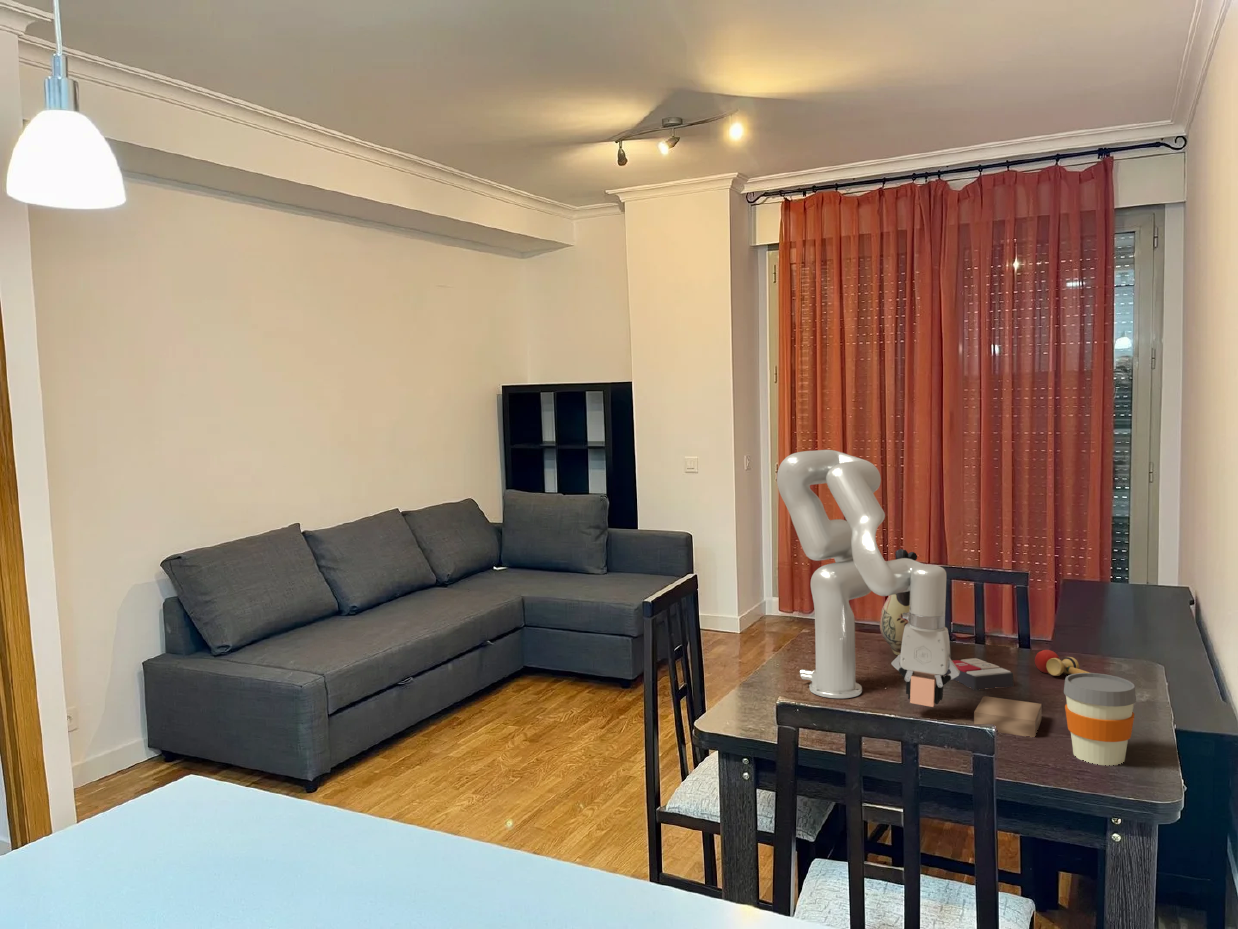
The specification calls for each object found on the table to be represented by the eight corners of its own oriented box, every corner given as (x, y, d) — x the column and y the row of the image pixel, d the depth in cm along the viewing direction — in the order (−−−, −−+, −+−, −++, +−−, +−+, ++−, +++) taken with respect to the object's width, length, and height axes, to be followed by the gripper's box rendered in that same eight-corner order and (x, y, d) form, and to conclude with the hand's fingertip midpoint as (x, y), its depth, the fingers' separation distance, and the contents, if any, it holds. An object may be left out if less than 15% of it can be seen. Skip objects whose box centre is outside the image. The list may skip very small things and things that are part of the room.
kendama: (1112, 690, 219) (1047, 662, 235) (1112, 667, 218) (1047, 641, 233) (1091, 701, 216) (1027, 672, 232) (1092, 677, 214) (1027, 650, 230)
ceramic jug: (887, 643, 261) (887, 542, 259) (942, 650, 253) (942, 545, 251) (871, 658, 246) (871, 551, 244) (929, 665, 238) (929, 554, 236)
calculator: (976, 656, 234) (1014, 670, 220) (977, 673, 234) (1014, 687, 220) (939, 660, 232) (974, 674, 217) (939, 676, 232) (975, 691, 217)
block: (910, 702, 199) (910, 676, 199) (915, 696, 204) (916, 670, 203) (933, 707, 197) (934, 680, 196) (937, 700, 201) (938, 674, 200)
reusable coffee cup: (1071, 740, 185) (1072, 669, 184) (1140, 753, 177) (1141, 679, 176) (1056, 759, 175) (1056, 684, 174) (1128, 775, 167) (1129, 696, 166)
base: (974, 730, 193) (974, 712, 192) (983, 713, 203) (983, 696, 203) (1035, 739, 186) (1035, 721, 186) (1041, 721, 197) (1041, 704, 196)
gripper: (883, 619, 199) (881, 698, 201) (964, 630, 191) (960, 712, 193) (892, 611, 206) (890, 688, 208) (970, 622, 197) (967, 702, 199)
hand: (924, 699), depth 200 cm, fingers closed on block, 5 cm apart
